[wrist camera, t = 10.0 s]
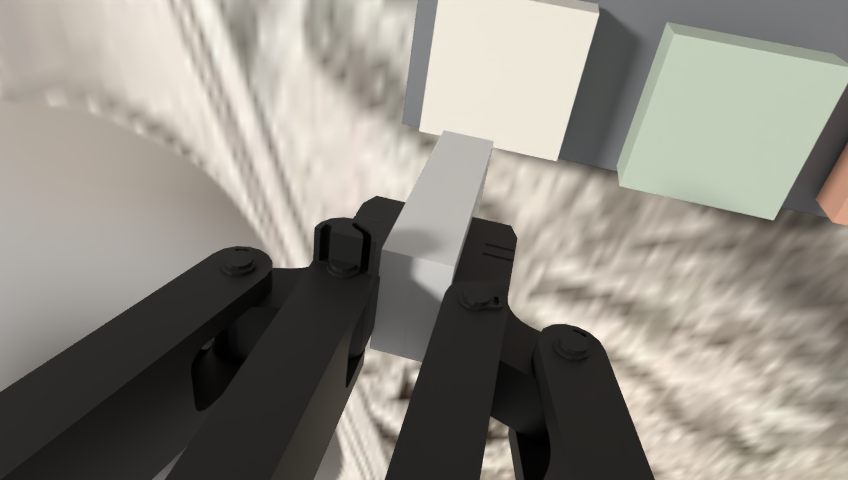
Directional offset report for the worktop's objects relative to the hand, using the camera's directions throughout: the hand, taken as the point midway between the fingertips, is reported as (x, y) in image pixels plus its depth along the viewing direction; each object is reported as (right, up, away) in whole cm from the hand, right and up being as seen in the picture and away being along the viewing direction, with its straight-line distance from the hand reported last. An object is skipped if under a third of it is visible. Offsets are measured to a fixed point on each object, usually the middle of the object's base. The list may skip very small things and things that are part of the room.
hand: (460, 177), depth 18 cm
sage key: (+12, +4, +10) cm, 16 cm away
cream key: (+3, +7, +12) cm, 14 cm away
